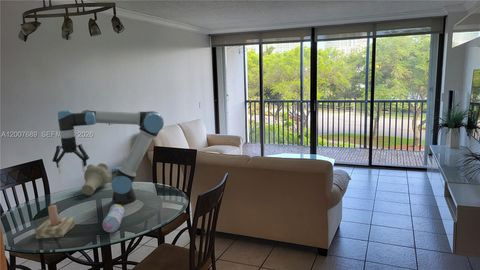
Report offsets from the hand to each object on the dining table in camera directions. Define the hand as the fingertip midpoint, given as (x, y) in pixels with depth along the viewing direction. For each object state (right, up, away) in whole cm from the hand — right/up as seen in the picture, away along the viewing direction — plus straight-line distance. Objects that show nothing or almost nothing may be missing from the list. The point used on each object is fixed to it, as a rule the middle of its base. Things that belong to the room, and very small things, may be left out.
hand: (72, 172), depth 203 cm
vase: (-8, -19, +48) cm, 52 cm away
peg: (-1, -30, -17) cm, 34 cm away
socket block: (-1, -30, -17) cm, 35 cm away
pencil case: (+30, -28, -12) cm, 43 cm away
